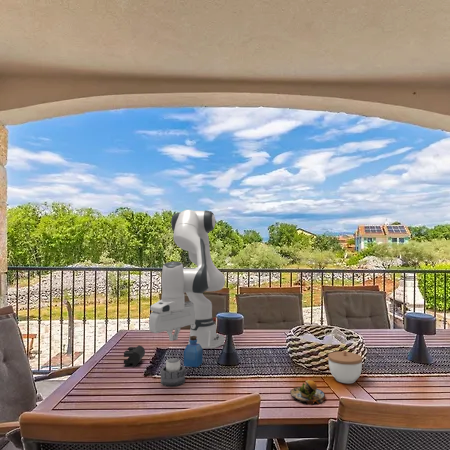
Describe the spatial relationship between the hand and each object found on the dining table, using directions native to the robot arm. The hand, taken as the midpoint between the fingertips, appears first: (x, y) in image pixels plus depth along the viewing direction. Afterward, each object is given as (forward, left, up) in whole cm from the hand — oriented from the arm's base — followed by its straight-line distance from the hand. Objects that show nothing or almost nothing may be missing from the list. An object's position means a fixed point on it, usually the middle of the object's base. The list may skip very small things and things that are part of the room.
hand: (173, 340), depth 143 cm
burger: (-23, +45, -16) cm, 53 cm away
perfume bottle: (-19, -10, -16) cm, 26 cm away
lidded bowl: (-47, +47, -16) cm, 68 cm away
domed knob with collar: (0, 0, -16) cm, 16 cm away
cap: (0, 0, -13) cm, 13 cm away
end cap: (-2, -30, -16) cm, 34 cm away
